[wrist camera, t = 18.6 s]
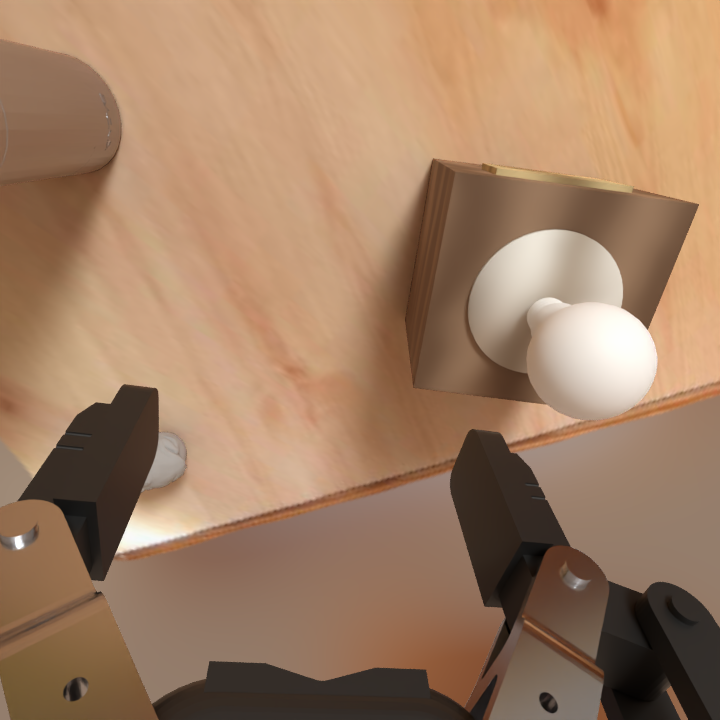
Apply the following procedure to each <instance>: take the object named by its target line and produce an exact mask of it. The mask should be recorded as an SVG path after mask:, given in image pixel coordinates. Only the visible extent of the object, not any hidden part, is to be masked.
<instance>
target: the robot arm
mask: <svg viewBox="0 0 720 720" xmlns="http://www.w3.org/2000/svg"><path fill="white" fill-rule="evenodd" d="M120 137H121V120H120V114H119V110H118V107H117V104H116V101H115V99H114V97H113V95H112V93H111V91H110V89H109V88H108V86H107V85H106V83H105V82H104V81H103V80H102V78H101V77H100V76H99V75H98V74H97V73H96V72H95V71H94V70H93V69H92V68H90V67H89V66H88V65H87V64H85V63H83V62H82V61H80V60H78V59H77V58H74V57H71V56H68V55H66V54H62V53H58V52H53V51H49V50H45V49H40V48H36V47H33V46H28V45H24V44H20V43H15V42H11V41H7V40H2V39H0V186H5V185H11V184H18V183H24V182H31V181H37V180H44V179H50V178H57V177H65V176H71V175H78V174H84V173H90V172H93V171H96V170H99V169H100V168H102V167H103V166H105V165H106V164H107V163H108V162H109V161H110V160H111V159H112V158H113V156H114V155H115V153H116V150H117V148H118V146H119V142H120ZM158 439H159V401H158V390H157V389H156V388H150V387H142V386H134V385H126V384H124V385H123V386H122V387H121V388H120V390H119V391H118V393H117V394H116V396H115V398H114V399H113V401H112V403H111V404H105V403H94V404H93V405H91V406H90V407H88V408H87V409H85V410H84V411H82V412H81V413H79V414H78V415H77V416H76V417H75V418H74V420H73V421H72V423H71V424H70V426H69V427H68V429H67V430H66V433H65V435H63V436H62V437H61V439H60V440H59V442H58V443H57V445H56V448H54V449H53V450H52V452H51V453H50V455H49V456H48V458H47V459H46V461H45V462H44V464H43V465H42V466H41V468H40V469H39V471H38V472H37V474H36V475H35V477H34V478H33V480H32V481H31V482H30V484H29V485H28V487H27V488H26V490H25V491H24V493H23V494H22V496H21V497H20V498H19V500H18V501H17V502H14V503H10V504H7V505H5V506H2V507H1V508H0V678H1V683H2V687H3V691H4V695H5V699H6V703H7V707H8V711H9V715H10V720H597V716H598V710H599V704H600V700H601V703H602V705H603V708H604V710H605V713H606V716H607V718H608V720H680V718H679V716H678V714H677V712H676V709H675V707H674V705H673V704H672V702H671V699H670V697H669V695H668V694H667V691H666V690H667V689H668V688H669V687H670V686H672V688H673V690H674V692H675V694H676V696H677V698H678V700H679V702H680V704H681V706H682V708H683V710H684V712H685V714H686V716H687V718H688V720H720V628H719V626H718V625H717V623H716V622H715V620H714V618H713V617H712V615H711V614H710V613H709V611H708V610H707V609H706V608H705V607H704V606H703V604H702V603H700V602H699V601H698V600H697V599H696V598H695V597H694V596H692V595H691V594H690V593H688V592H687V591H685V590H683V589H682V588H680V587H678V586H676V585H673V584H670V583H666V582H656V583H653V584H652V585H650V587H649V588H648V589H647V590H646V591H645V593H644V594H642V593H639V592H637V591H634V590H631V589H629V588H626V587H623V586H621V585H618V584H615V583H612V582H610V581H608V580H607V578H606V576H605V574H604V573H603V571H602V570H601V568H600V567H599V566H598V565H597V564H596V563H595V562H594V561H593V560H592V559H591V558H590V557H588V556H587V555H586V554H584V553H583V552H581V551H579V550H577V549H574V548H572V547H570V545H569V543H568V541H567V539H566V537H565V535H564V533H563V531H562V529H561V527H560V525H559V523H558V521H557V519H556V517H555V515H554V513H553V511H552V509H551V507H550V505H549V503H548V501H547V500H545V495H544V493H543V491H542V489H541V488H540V487H539V484H538V482H537V480H536V478H535V476H534V474H533V472H532V470H531V468H530V467H529V466H528V465H527V464H526V463H525V462H524V461H523V460H522V459H521V458H520V457H519V456H518V455H517V454H515V453H510V451H509V449H508V447H507V445H506V442H505V440H504V438H503V436H502V435H501V434H500V433H498V432H491V431H483V430H475V429H472V430H470V431H469V432H468V434H467V436H466V439H465V441H464V443H463V446H462V448H461V450H460V453H459V455H458V458H457V460H456V462H455V465H454V467H453V470H452V473H451V479H450V489H451V495H452V498H453V502H454V505H455V508H456V512H457V515H458V519H459V522H460V525H461V529H462V532H463V535H464V539H465V542H466V546H467V549H468V552H469V556H470V559H471V562H472V566H473V569H474V573H475V576H476V579H477V583H478V586H479V590H480V593H481V596H482V600H483V603H484V606H485V607H501V608H503V611H504V614H505V618H504V620H503V622H502V624H501V625H500V627H499V630H498V632H497V635H496V637H495V639H494V642H493V644H492V647H491V649H490V652H489V654H488V657H487V659H486V661H485V663H484V666H483V668H482V671H481V673H480V675H479V678H478V680H477V683H476V685H475V688H474V690H473V692H472V694H471V696H470V698H469V700H468V702H467V703H466V705H465V707H464V708H463V707H462V706H461V705H459V704H458V703H457V702H455V701H453V700H452V699H450V698H449V697H447V696H445V695H443V694H441V693H439V692H437V691H435V690H433V689H430V688H429V684H428V679H427V673H426V670H420V669H394V668H373V669H369V670H365V671H361V672H358V673H354V674H350V675H346V676H342V677H339V678H335V679H331V680H327V681H318V680H315V679H311V678H308V677H305V676H302V675H299V674H296V673H293V672H290V671H287V670H284V669H281V668H278V667H275V666H272V665H268V664H266V663H241V662H239V663H238V662H215V661H210V662H209V667H208V672H207V677H206V679H204V680H200V681H196V682H193V683H190V684H188V685H185V686H183V687H180V688H178V689H176V690H174V691H172V692H170V693H168V694H166V695H165V696H163V697H162V698H160V699H159V700H157V701H156V702H154V703H153V704H152V703H151V701H150V699H149V696H148V694H147V692H146V690H145V687H144V685H143V683H142V680H141V678H140V676H139V673H138V671H137V669H136V667H135V664H134V662H133V659H132V657H131V655H130V653H129V650H128V648H127V646H126V643H125V641H124V639H123V636H122V634H121V632H120V630H119V627H118V625H117V623H116V620H115V618H114V616H113V613H112V611H111V609H110V606H109V604H108V602H107V600H106V598H105V596H104V595H103V593H102V592H98V593H97V591H96V590H95V588H94V585H93V583H92V581H91V580H98V581H104V579H105V577H106V575H107V572H108V570H109V567H110V565H111V562H112V560H113V558H114V555H115V553H116V551H117V548H118V546H119V543H120V541H121V539H122V536H123V534H124V532H125V529H126V527H127V524H128V522H129V520H130V517H131V515H132V512H133V510H134V508H135V505H136V503H137V500H138V498H139V496H140V493H141V491H142V488H143V486H144V484H145V481H146V479H147V477H148V474H149V472H150V469H151V467H152V465H153V462H154V459H155V456H156V452H157V447H158Z"/></svg>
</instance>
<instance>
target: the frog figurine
mask: <svg viewBox="0 0 720 720" xmlns="http://www.w3.org/2000/svg"><path fill="white" fill-rule="evenodd" d="M186 456H187V451H186V446H185V444H184V442H183V441H182V440H181V438H179V437H178V436H177V435H175V434H173V433H169V432H159V439H158V447H157V452H156V456H155V459H154V462H153V465H152V467H151V469H150V472H149V474H148V477H147V479H146V481H145V484H144V486H143V488H142V491H141V493H142V492H143V491H145V490H151V489H153V488H161V487H164V486H166V485H168V484H170V483H171V482H173V481H175V480H176V479H177V478H180V477H181V476H182V475H183V474H184V471H185V469H186V468H187V465H186V464H185V460H186Z"/></svg>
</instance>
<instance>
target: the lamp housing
mask: <svg viewBox="0 0 720 720" xmlns="http://www.w3.org/2000/svg"><path fill="white" fill-rule="evenodd" d="M633 188H634V186H629V185H625V184H621V183H616V182H612V181H608V180H603V179H597V178H589V177H582V176H575V175H567V174H560V173H552V172H545V171H537V170H530V169H522V168H515V167H507V166H500V165H493V164H485V163H483V164H482V165H477V164H470V163H462V162H455V161H447V160H440V159H433V162H432V168H431V174H430V180H429V185H428V191H427V197H426V203H425V209H424V214H423V220H422V226H421V232H420V237H419V243H418V249H417V255H416V261H415V266H414V272H413V278H412V284H411V289H410V295H409V301H408V307H407V313H406V318H405V322H406V330H407V338H408V346H409V354H410V362H411V370H412V378H413V386H414V388H420V389H428V390H436V391H444V392H452V393H460V394H467V395H475V396H483V397H491V398H499V399H507V400H515V401H523V402H531V403H539V404H546V403H545V402H544V401H543V400H542V399H541V398H540V397H539V396H538V394H537V393H536V391H535V389H534V388H533V386H532V384H531V383H530V379H529V376H528V372H527V361H526V357H527V350H528V346H529V344H530V341H531V338H532V335H531V329H530V327H529V325H528V322H527V313H528V311H529V309H530V307H531V306H532V305H533V304H534V303H535V302H536V301H538V300H540V299H543V298H547V297H551V298H555V299H558V300H560V301H561V302H563V303H567V304H570V305H574V304H578V303H584V302H599V303H604V304H609V305H614V306H617V307H619V308H622V309H624V310H626V311H627V312H629V313H630V314H632V315H633V316H634V317H636V318H637V319H639V320H640V321H641V323H642V324H643V325H644V326H645V327H646V329H647V330H648V328H649V326H650V323H651V321H652V318H653V316H654V313H655V311H656V308H657V306H658V304H659V301H660V299H661V296H662V294H663V291H664V289H665V287H666V284H667V282H668V279H669V277H670V274H671V272H672V269H673V267H674V265H675V262H676V260H677V257H678V255H679V252H680V250H681V247H682V245H683V243H684V240H685V238H686V235H687V233H688V230H689V228H690V226H691V223H692V221H693V218H694V216H695V213H696V211H697V208H698V206H699V204H695V203H691V202H687V201H683V200H679V199H675V198H670V197H666V196H662V195H658V194H654V193H650V192H646V191H641V190H637V189H633Z"/></svg>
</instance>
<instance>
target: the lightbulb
mask: <svg viewBox="0 0 720 720" xmlns="http://www.w3.org/2000/svg"><path fill="white" fill-rule="evenodd" d="M527 322H528V325H529V327H530V329H531V335H532V338H531V341H530V344H529V346H528V350H527V357H526V361H527V372H528V376H529V379H530V383H531V384H532V386H533V388H534V389H535V391H536V393H537V394H538V396H539V397H540V398H541V399H542V400H543V401H544V402H545V403H546V404H547V405H548V406H550V407H551V408H553V409H554V410H556V411H557V412H559V413H562V414H564V415H566V416H569V417H571V418H575V419H580V420H602V419H608V418H612V417H615V416H618V415H620V414H622V413H624V412H626V411H628V410H629V409H631V408H632V407H634V406H635V405H636V404H637V403H639V402H640V401H641V400H642V399H643V398H644V396H645V395H646V394H647V392H648V391H649V389H650V387H651V385H652V383H653V381H654V378H655V374H656V370H657V353H656V348H655V344H654V341H653V339H652V337H651V335H650V333H649V332H648V330H647V329H646V327H645V326H644V325H643V324H642V323H641V321H640V320H639V319H637V318H636V317H634V316H633V315H632V314H630V313H629V312H627V311H626V310H624V309H622V308H619V307H617V306H614V305H609V304H604V303H599V302H584V303H578V304H574V305H570V304H567V303H563V302H561V301H560V300H558V299H555V298H551V297H547V298H543V299H540V300H538V301H536V302H535V303H534V304H533V305H532V306H531V307H530V309H529V311H528V313H527Z"/></svg>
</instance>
